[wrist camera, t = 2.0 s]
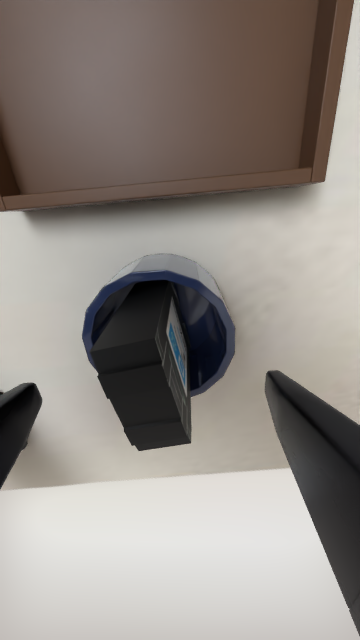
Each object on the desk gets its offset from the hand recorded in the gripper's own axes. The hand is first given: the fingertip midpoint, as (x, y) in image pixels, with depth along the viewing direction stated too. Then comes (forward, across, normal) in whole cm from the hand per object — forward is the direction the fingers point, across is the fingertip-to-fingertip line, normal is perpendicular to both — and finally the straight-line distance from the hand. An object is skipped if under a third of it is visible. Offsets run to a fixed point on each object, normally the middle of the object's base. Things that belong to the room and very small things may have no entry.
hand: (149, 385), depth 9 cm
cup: (+7, 0, 0) cm, 7 cm away
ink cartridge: (+7, 0, 0) cm, 7 cm away
